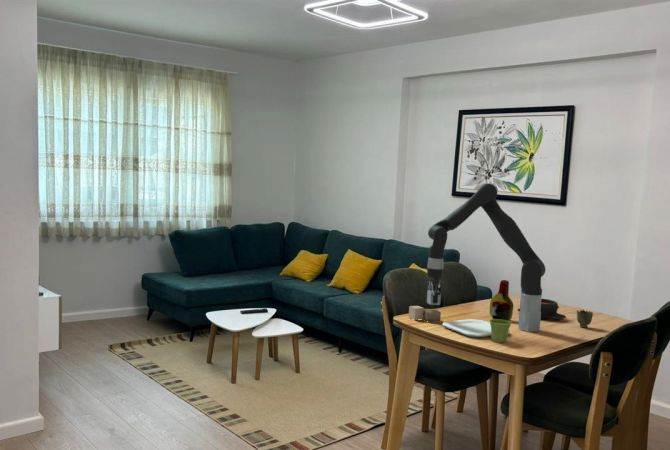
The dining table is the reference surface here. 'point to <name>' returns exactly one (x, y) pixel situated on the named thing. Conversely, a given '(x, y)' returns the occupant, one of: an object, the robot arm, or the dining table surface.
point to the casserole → (549, 310)
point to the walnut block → (431, 315)
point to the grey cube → (430, 298)
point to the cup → (584, 318)
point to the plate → (470, 327)
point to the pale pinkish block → (416, 312)
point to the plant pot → (499, 330)
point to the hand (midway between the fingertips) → (432, 301)
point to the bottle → (502, 303)
